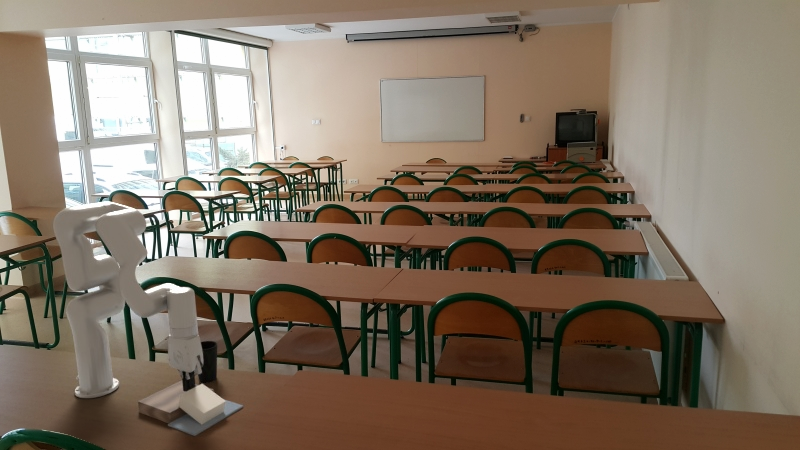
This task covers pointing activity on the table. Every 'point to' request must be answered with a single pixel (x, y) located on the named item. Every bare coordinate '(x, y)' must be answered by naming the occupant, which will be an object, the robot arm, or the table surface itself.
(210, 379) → the cup
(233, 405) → the mat
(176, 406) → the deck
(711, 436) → the table surface
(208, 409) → the cream rectangular block
